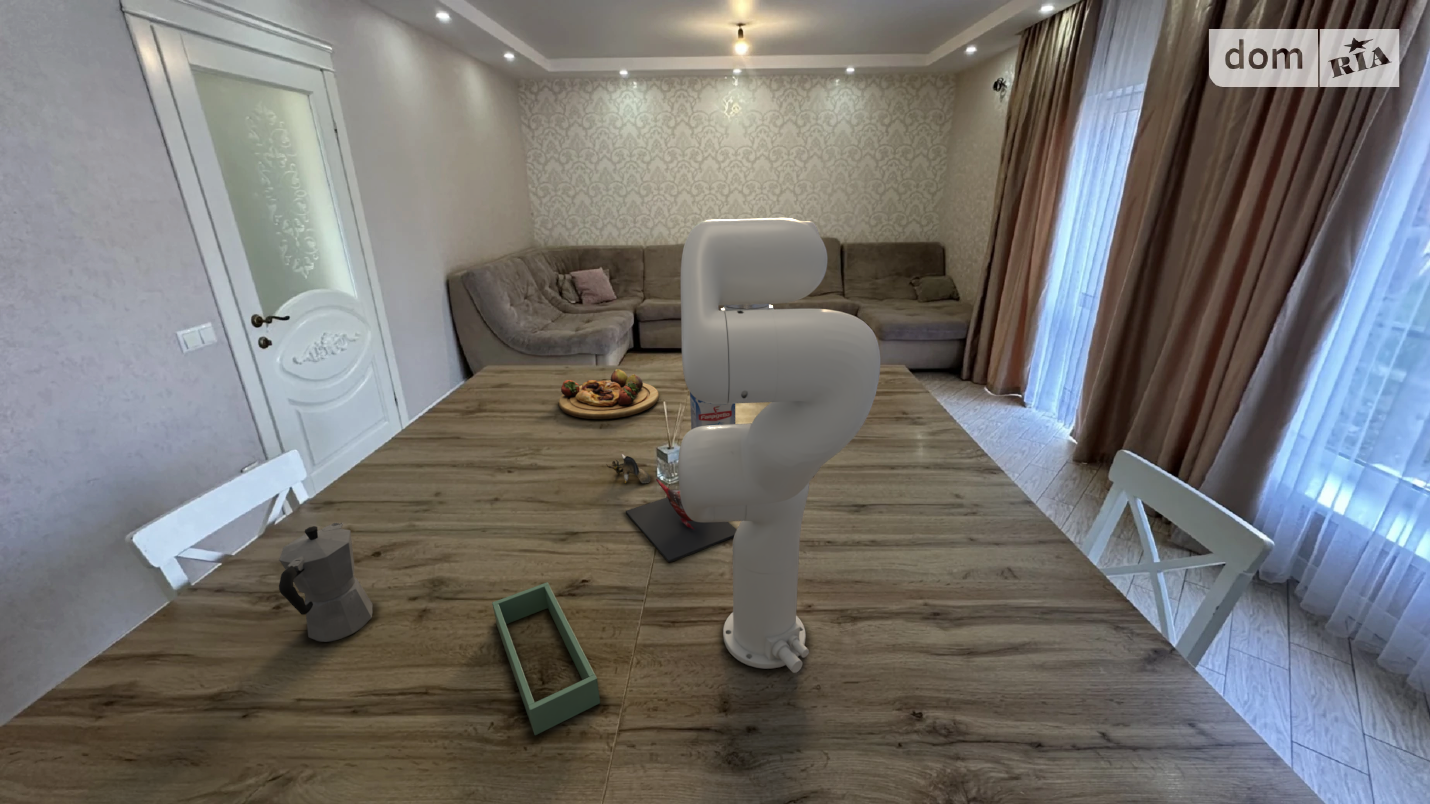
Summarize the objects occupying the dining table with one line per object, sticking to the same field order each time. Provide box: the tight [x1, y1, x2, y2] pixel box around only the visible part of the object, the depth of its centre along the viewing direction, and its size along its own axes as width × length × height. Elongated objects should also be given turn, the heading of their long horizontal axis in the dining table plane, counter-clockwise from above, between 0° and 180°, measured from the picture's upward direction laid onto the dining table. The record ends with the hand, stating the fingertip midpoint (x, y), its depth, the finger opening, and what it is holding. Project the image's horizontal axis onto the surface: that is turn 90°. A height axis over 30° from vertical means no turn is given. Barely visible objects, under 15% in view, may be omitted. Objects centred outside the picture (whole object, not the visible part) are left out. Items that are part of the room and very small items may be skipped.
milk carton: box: [689, 392, 736, 430], centre depth 137 cm, size 10×6×20 cm, turn 105°
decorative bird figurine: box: [655, 478, 695, 530], centre depth 112 cm, size 3×18×10 cm, turn 39°
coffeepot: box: [278, 522, 374, 643], centre depth 85 cm, size 15×9×18 cm, turn 6°
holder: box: [491, 581, 601, 736], centre depth 80 cm, size 23×9×4 cm, turn 32°
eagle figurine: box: [605, 453, 652, 484], centre depth 131 cm, size 8×7×9 cm
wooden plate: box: [558, 368, 660, 420], centre depth 178 cm, size 32×32×8 cm
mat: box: [625, 496, 737, 564], centre depth 114 cm, size 20×16×1 cm
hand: (746, 395), depth 97 cm, fingers open, 9 cm apart
